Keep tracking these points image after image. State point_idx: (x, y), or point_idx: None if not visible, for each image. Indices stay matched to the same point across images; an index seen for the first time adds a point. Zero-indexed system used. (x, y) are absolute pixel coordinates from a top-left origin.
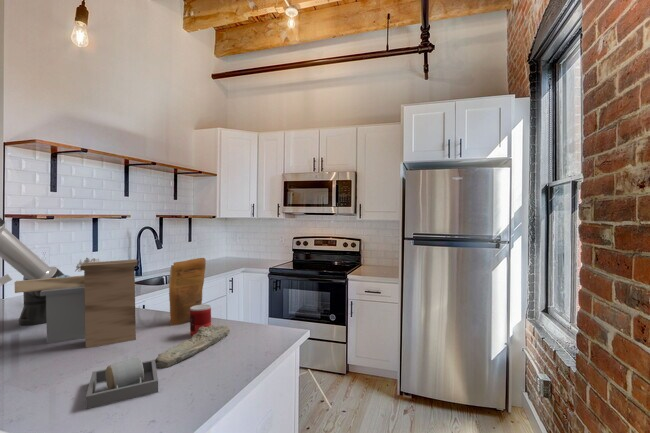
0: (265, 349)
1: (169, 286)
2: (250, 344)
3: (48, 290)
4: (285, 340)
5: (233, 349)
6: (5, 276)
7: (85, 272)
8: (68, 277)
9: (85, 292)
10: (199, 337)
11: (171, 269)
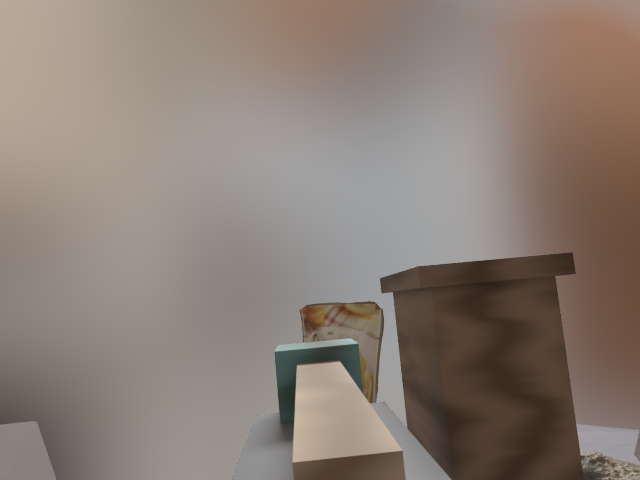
0: (633, 439)
1: (377, 386)
2: (601, 449)
3: (409, 476)
4: (580, 429)
5: (634, 459)
6: (23, 477)
7: (554, 290)
8: (338, 374)
9: (569, 393)
10: (603, 464)
11: (383, 323)
